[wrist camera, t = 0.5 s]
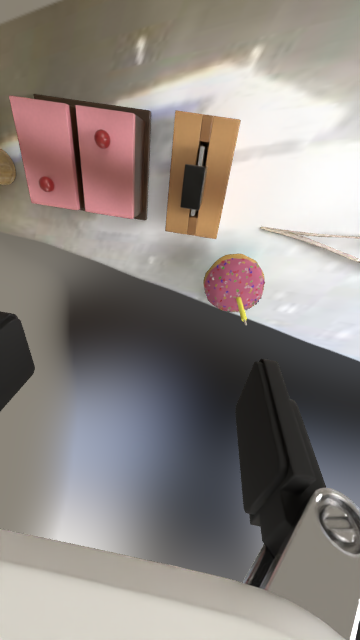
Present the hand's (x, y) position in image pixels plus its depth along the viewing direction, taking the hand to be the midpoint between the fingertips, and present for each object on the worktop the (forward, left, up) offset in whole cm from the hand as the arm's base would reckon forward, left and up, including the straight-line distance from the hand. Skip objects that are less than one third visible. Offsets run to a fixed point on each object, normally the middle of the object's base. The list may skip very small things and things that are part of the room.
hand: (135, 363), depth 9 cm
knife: (-5, 0, -28) cm, 29 cm away
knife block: (-5, 0, -29) cm, 30 cm away
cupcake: (+7, +7, -29) cm, 31 cm away
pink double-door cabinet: (-5, -14, -29) cm, 33 cm away
